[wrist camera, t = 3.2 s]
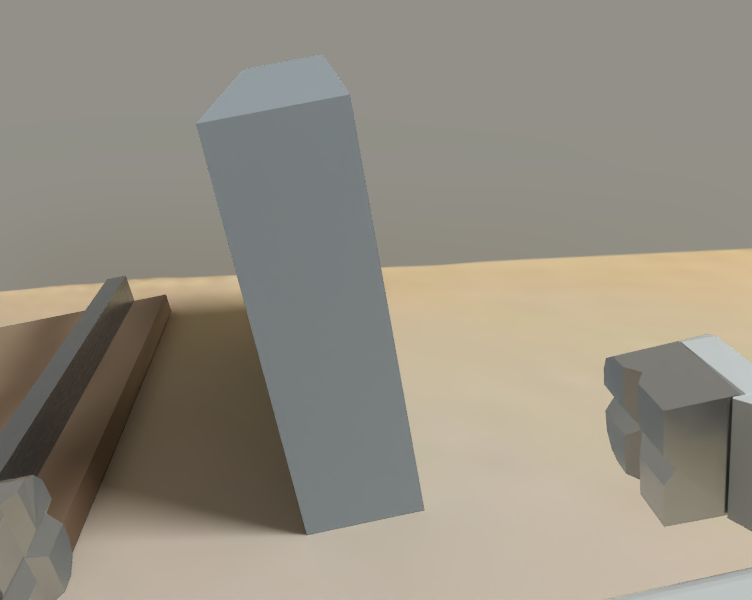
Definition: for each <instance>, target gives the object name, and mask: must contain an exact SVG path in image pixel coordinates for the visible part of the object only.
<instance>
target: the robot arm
mask: <svg viewBox="0 0 752 600" xmlns="http://www.w3.org/2000/svg"><path fill="white" fill-rule="evenodd" d="M604 385H605V386H606V387H607V388H608V389H609V391H610V392H611V393H612V394H613V396H614V398H613V400H612V401H611V403H610V404H609V406H608V408H607V409H606V423H607V432H608V436H609V440H610V443H611V447H612V450H613V452H614V454H615V456H616V459H617V461H618V462H619V464H620V465H621V467H622V468H623V470H624V471H625V473H626V474H628V475H631V476H633V477H635V478H638V479H640V490H641V495H642V497H643V498H644V499H645V501H646V502H647V504H648V505H649V506H650V508H651V509H652V510H653V512H654V513H655V515H656V516H657V517H658V519H659V520H660V521H661V523H662V524H663V526H664V527H665V526H671V525H676V524H681V523H687V522H692V521H698V520H703V519H708V518H714V517H719V516H725V515H728V517H727V518H729V519H730V520H732V521H734V522H736V523H738V524H740V525H741V526H743V527H745V528H747V529H749V530H750V531H752V363H751V362H750V361H748V360H747V359H746V358H744V357H743V356H742V355H741V354H739V353H738V352H737V351H735V350H734V349H733V348H731V347H730V346H729V345H728V344H726V343H725V342H724V341H722V340H721V339H720V338H718V337H717V336H715V335H710V334H705V335H701V336H697V337H693V338H689V339H685V340H681V341H677V342H673V343H669V344H664V345H660V346H656V347H652V348H647V349H643V350H639V351H634V352H630V353H626V354H621V355H617V356H613V357H609V358H606V361H605V366H604ZM51 499H52V498H51V496H50V494H49V492H48V490H47V488H46V486H45V484H44V482H43V480H42V479H40V478H38V477H36V476H34V475H30V476H24V477H19V478H14V479H8V480H3V481H0V600H57V599H58V598H59V597H60V596H61V595H62V594H63V593H64V592H65V590H66V588H67V585H68V582H69V579H70V577H71V569H72V549H71V545H70V540H69V536H68V534H67V532H66V529H65V527H64V525H63V523H61V522H60V521H58V520H56V519H55V518H53V517H52V516H50V515H48V514H47V510H48V508H49V505H50V502H51ZM604 600H752V568H747V569H742V570H738V571H733V572H729V573H724V574H719V575H715V576H710V577H706V578H701V579H696V580H692V581H687V582H682V583H678V584H673V585H669V586H664V587H659V588H655V589H650V590H646V591H641V592H636V593H632V594H627V595H623V596H618V597H613V598H609V599H604Z"/></svg>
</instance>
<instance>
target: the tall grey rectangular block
mask: <svg viewBox="0 0 752 600" xmlns="http://www.w3.org/2000/svg"><path fill="white" fill-rule="evenodd" d="M196 126H197V129H198V133H199V137H200V140H201V144H202V148H203V152H204V155H205V159H206V163H207V166H208V170H209V173H210V177H211V181H212V185H213V189H214V192H215V196H216V199H217V204H218V207H219V211H220V214H221V218H222V222H223V226H224V230H225V233H226V237H227V241H228V244H229V248H230V252H231V255H232V259H233V262H234V267H235V270H236V274H237V278H238V281H239V285H240V289H241V293H242V296H243V300H244V304H245V307H246V311H247V315H248V319H249V322H250V326H251V330H252V333H253V337H254V341H255V344H256V348H257V352H258V356H259V359H260V363H261V367H262V370H263V374H264V378H265V382H266V385H267V389H268V393H269V396H270V400H271V404H272V408H273V411H274V415H275V419H276V422H277V426H278V430H279V433H280V437H281V441H282V445H283V448H284V452H285V456H286V459H287V463H288V467H289V471H290V474H291V478H292V482H293V485H294V489H295V493H296V496H297V500H298V504H299V508H300V511H301V515H302V519H303V522H304V526H305V530H306V534H307V535H311V534H315V533H320V532H325V531H330V530H334V529H339V528H344V527H348V526H353V525H358V524H362V523H367V522H372V521H377V520H381V519H386V518H391V517H395V516H400V515H405V514H409V513H414V512H419V511H424V505H423V500H422V494H421V488H420V483H419V477H418V472H417V466H416V460H415V455H414V449H413V444H412V438H411V433H410V427H409V421H408V416H407V410H406V405H405V399H404V393H403V388H402V382H401V377H400V371H399V366H398V360H397V354H396V349H395V343H394V338H393V332H392V326H391V321H390V315H389V310H388V304H387V299H386V293H385V287H384V282H383V276H382V271H381V265H380V260H379V255H378V248H377V243H376V237H375V232H374V227H373V220H372V215H371V209H370V204H369V198H368V193H367V187H366V181H365V176H364V170H363V165H362V159H361V153H360V148H359V142H358V137H357V132H356V126H355V120H354V114H353V109H352V104H351V98H350V94H349V92H348V91H347V90H346V88H345V86H344V85H343V84H342V82H341V81H340V79H339V78H338V76H337V75H336V73H335V72H334V71H333V69H332V68H331V66H330V65H329V63H328V62H327V60H326V59H325V58H324V56H323V55H317V56H312V57H306V58H302V59H296V60H290V61H285V62H280V63H275V64H269V65H264V66H259V67H253V68H248V69H244V70H242V72H241V73H240V74H239V75H238V76H237V77H236V78H235V80H234V81H233V82H232V83H231V84H230V85H229V87H228V88H227V89H226V90H225V91H224V92H223V93H222V94H221V96H220V97H219V98H218V99H217V100H216V101H215V103H214V104H213V105H212V106H211V107H210V108H209V109H208V111H207V112H206V113H205V114H204V115H203V116H202V118H201V119H200V120H199V121H198V122H197V123H196Z"/></svg>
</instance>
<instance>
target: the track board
mask: <svg viewBox="0 0 752 600" xmlns="http://www.w3.org/2000/svg"><path fill="white" fill-rule="evenodd" d="M170 313H171V309H170V306H169V303H168V300H167V296H166V295H162V296H157V297H152V298H147V299H142V300H137V301H134V299H133V296H132V293H131V290H130V287H129V284H128V281H127V278H126V276H122V277H117V278H112V279H107V280H106V282H105V283H104V285H103V286H102V288H101V289H100V290H99V292H98V293H97V295H96V296H95V298H94V299H93V300H92V302H91V303H90V305H89V306H88V308H87V309H86V311H81V312H76V313H71V314H66V315H61V316H56V317H51V318H46V319H41V320H36V321H31V322H26V323H21V324H16V325H11V326H6V327H1V328H0V481H3V480H8V479H14V478H19V477H24V476H30V475H34V476H36V477H38V478H40V479H42V480H43V482H44V484H45V486H46V488H47V490H48V492H49V494H50V496H51V498H52V499H51V502H50V505H49V508H48V510H47V514H48V515H50V516H52V517H53V518H55V519H56V520H58V521H60V522H61V523H63V525H64V527H65V529H66V532H67V534H68V536H69V540H70V545H71V549H72V552H73V550H74V547H75V545H76V543H77V540H78V538H79V535H80V533H81V530H82V528H83V525H84V523H85V521H86V518H87V516H88V513H89V511H90V508H91V506H92V503H93V501H94V499H95V496H96V494H97V491H98V489H99V486H100V484H101V481H102V479H103V477H104V474H105V472H106V469H107V467H108V464H109V462H110V459H111V457H112V455H113V452H114V450H115V447H116V445H117V442H118V440H119V437H120V435H121V432H122V430H123V428H124V425H125V423H126V420H127V418H128V415H129V413H130V410H131V408H132V406H133V403H134V401H135V398H136V396H137V393H138V391H139V388H140V386H141V384H142V381H143V379H144V376H145V374H146V371H147V369H148V366H149V364H150V362H151V359H152V357H153V354H154V352H155V349H156V347H157V344H158V342H159V340H160V337H161V335H162V332H163V330H164V327H165V325H166V322H167V320H168V318H169V315H170Z"/></svg>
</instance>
